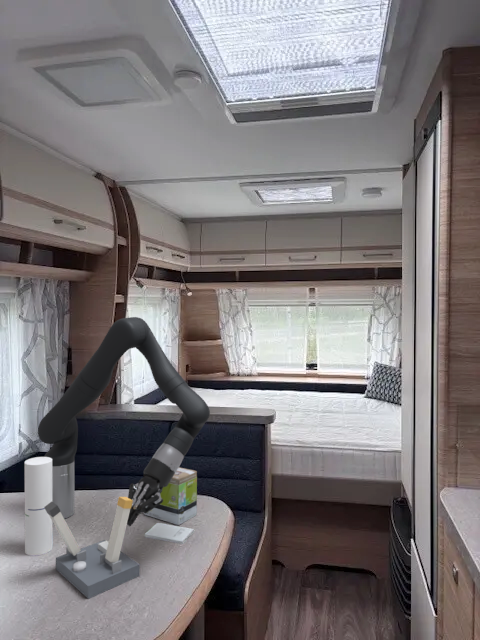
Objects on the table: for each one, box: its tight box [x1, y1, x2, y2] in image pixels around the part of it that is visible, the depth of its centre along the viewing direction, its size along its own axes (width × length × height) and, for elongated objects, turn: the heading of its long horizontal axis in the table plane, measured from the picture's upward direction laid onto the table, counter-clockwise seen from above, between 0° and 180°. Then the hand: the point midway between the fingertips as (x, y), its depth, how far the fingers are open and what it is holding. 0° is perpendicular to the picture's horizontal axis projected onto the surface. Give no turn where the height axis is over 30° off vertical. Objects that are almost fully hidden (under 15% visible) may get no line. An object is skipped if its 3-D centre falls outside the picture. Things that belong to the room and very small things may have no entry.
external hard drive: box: [144, 522, 195, 545], centre depth 146 cm, size 2×8×12 cm
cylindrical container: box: [24, 456, 54, 557], centre depth 136 cm, size 7×7×25 cm
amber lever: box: [104, 496, 133, 567], centre depth 123 cm, size 4×2×16 cm, turn 44°
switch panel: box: [55, 539, 141, 600], centre depth 125 cm, size 18×14×5 cm
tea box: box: [143, 466, 198, 526], centre depth 159 cm, size 15×10×15 cm
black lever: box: [44, 502, 81, 556], centre depth 124 cm, size 4×2×16 cm, turn 45°
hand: (126, 523), depth 125 cm, fingers closed
